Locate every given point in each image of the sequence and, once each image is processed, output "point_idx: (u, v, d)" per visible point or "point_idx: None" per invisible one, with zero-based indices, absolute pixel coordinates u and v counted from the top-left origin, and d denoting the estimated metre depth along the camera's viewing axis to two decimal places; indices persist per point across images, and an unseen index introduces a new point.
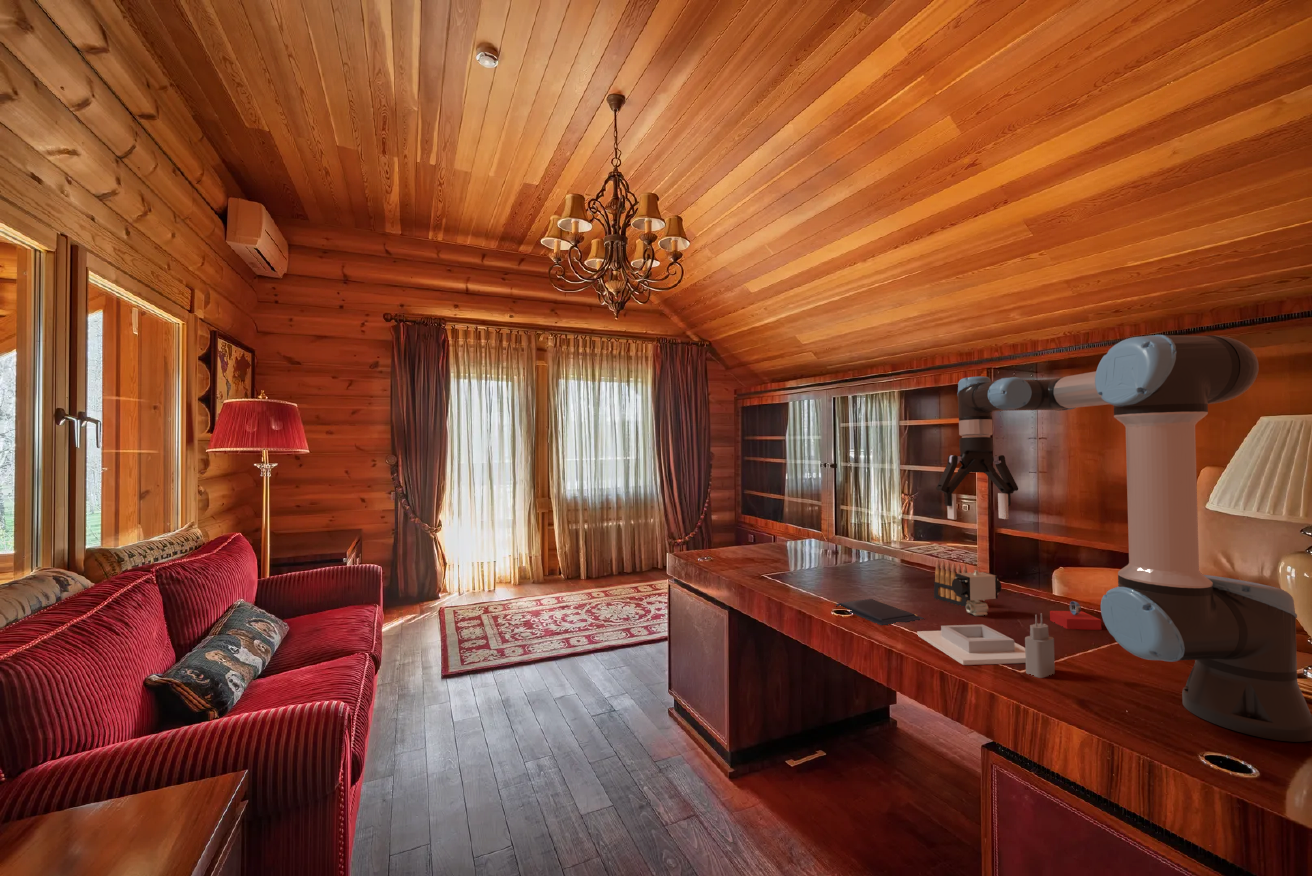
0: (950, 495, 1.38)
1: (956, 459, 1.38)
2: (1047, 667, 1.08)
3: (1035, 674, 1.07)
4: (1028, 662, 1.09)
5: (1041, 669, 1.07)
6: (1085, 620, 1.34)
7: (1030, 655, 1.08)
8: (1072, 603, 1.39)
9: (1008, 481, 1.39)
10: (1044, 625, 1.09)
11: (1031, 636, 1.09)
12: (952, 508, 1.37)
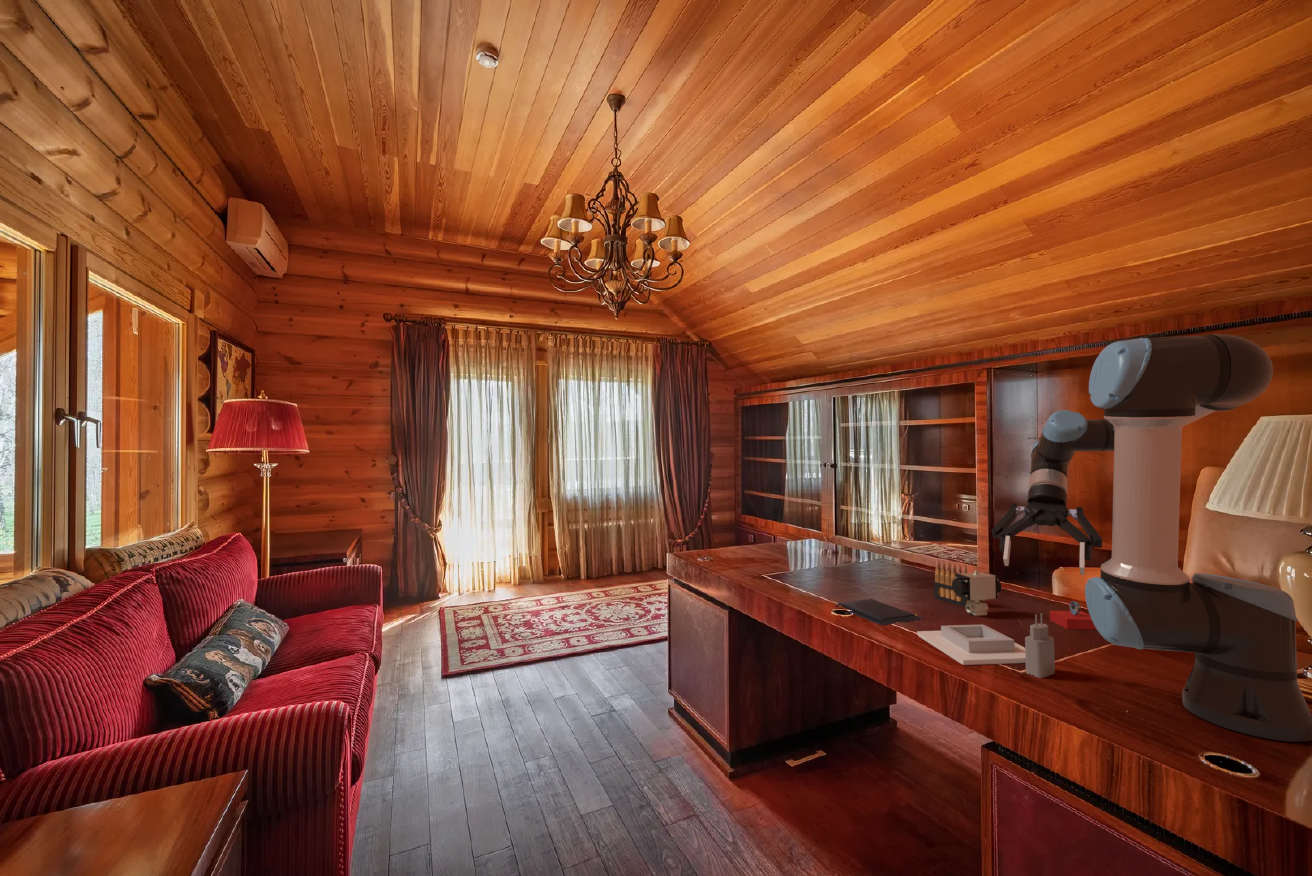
0: (1004, 538, 1.25)
1: (1015, 506, 1.29)
2: (1047, 667, 1.08)
3: (1035, 674, 1.07)
4: (1028, 662, 1.09)
5: (1041, 669, 1.07)
6: (1085, 620, 1.34)
7: (1030, 655, 1.08)
8: (1072, 603, 1.39)
9: (1089, 533, 1.17)
10: (1044, 625, 1.09)
11: (1031, 636, 1.09)
12: None
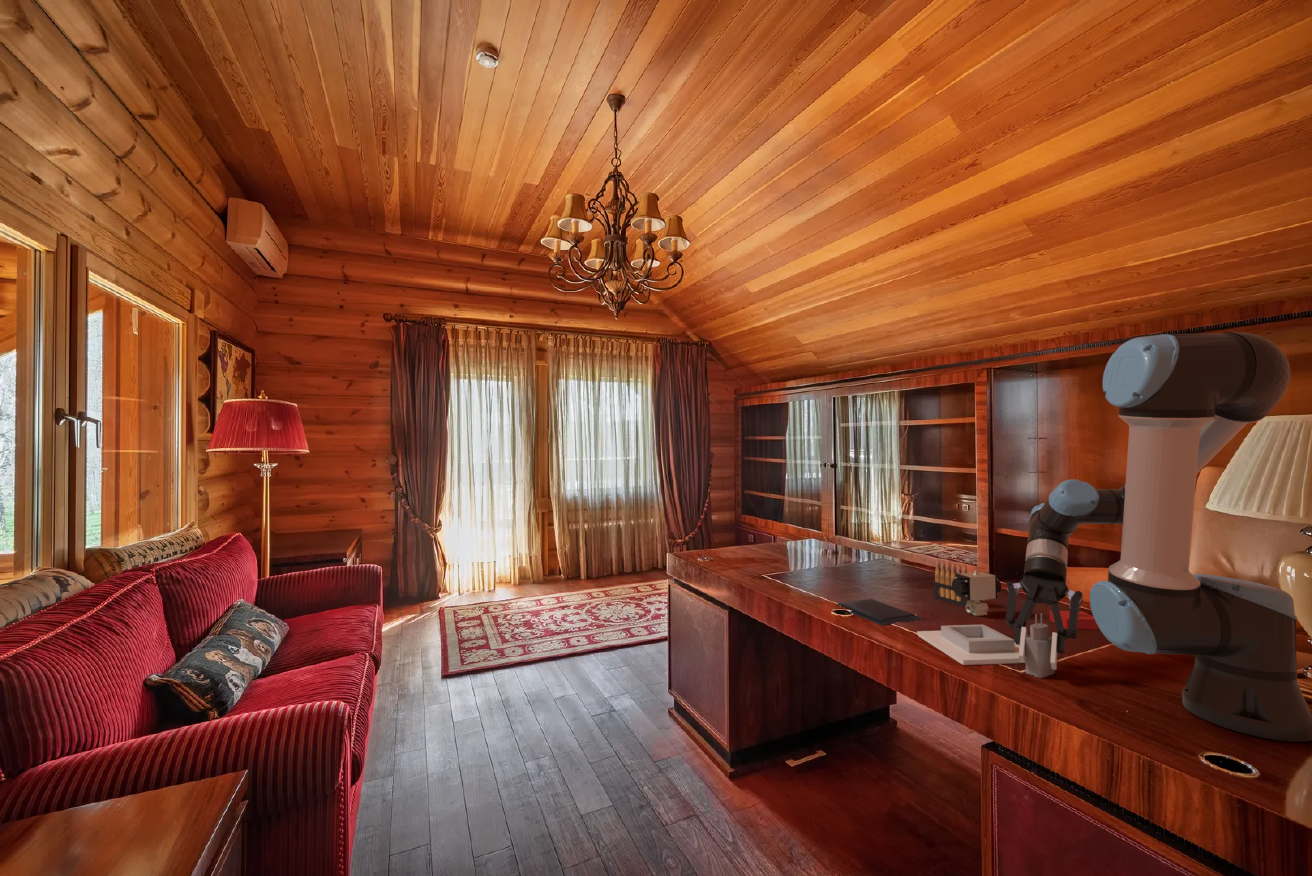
0: (1019, 629, 1.11)
1: (1011, 585, 1.18)
2: (1047, 667, 1.08)
3: (1035, 674, 1.07)
4: (1028, 662, 1.09)
5: (1041, 669, 1.07)
6: (1085, 620, 1.34)
7: (1030, 655, 1.08)
8: None
9: (1069, 620, 1.08)
10: (1044, 625, 1.09)
11: (1031, 636, 1.09)
12: (1020, 644, 1.09)
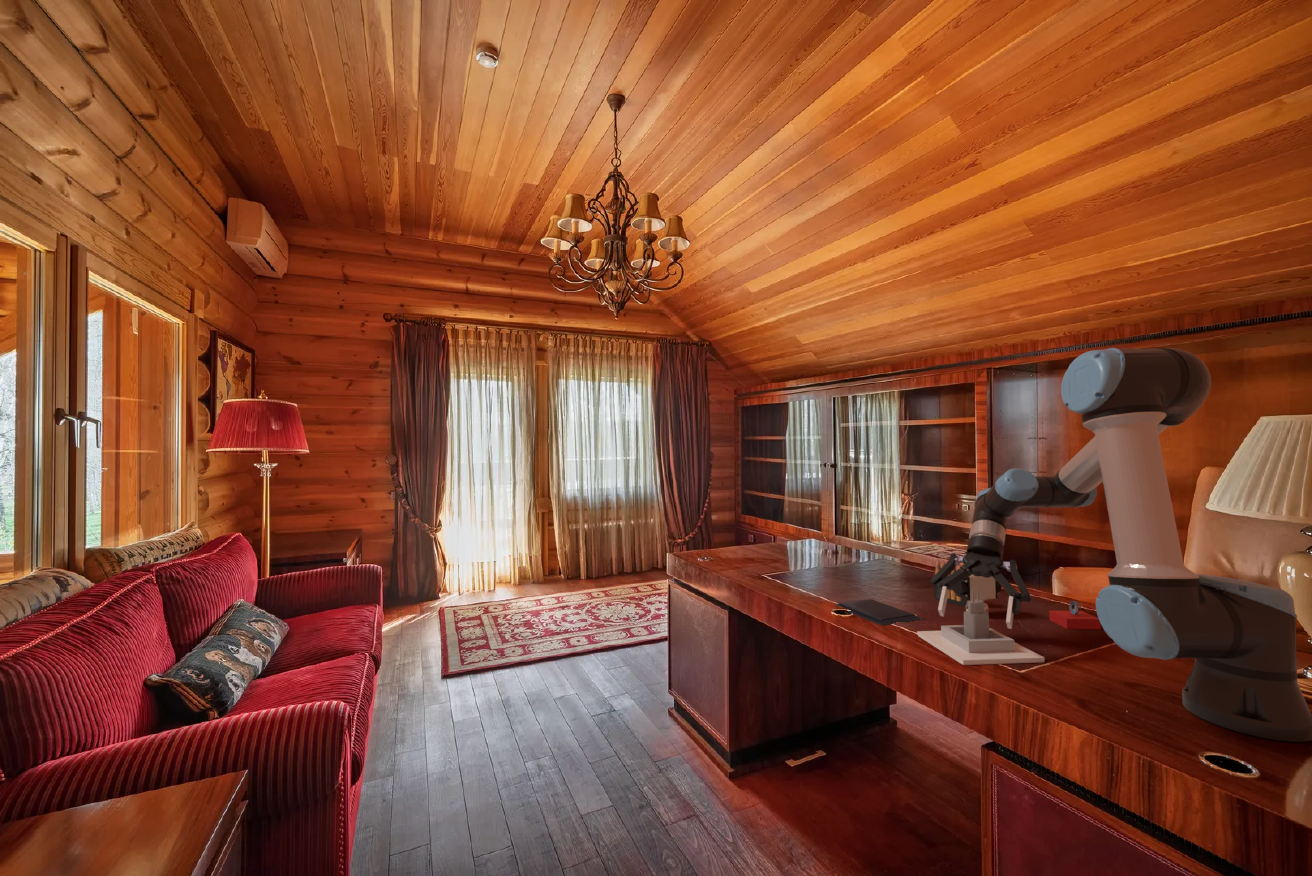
0: (941, 588, 1.29)
1: (954, 556, 1.33)
2: (982, 638, 1.21)
3: None
4: (966, 634, 1.22)
5: None
6: (1085, 620, 1.35)
7: (967, 627, 1.22)
8: (1072, 602, 1.39)
9: (1019, 587, 1.21)
10: (980, 601, 1.23)
11: (969, 611, 1.23)
12: None
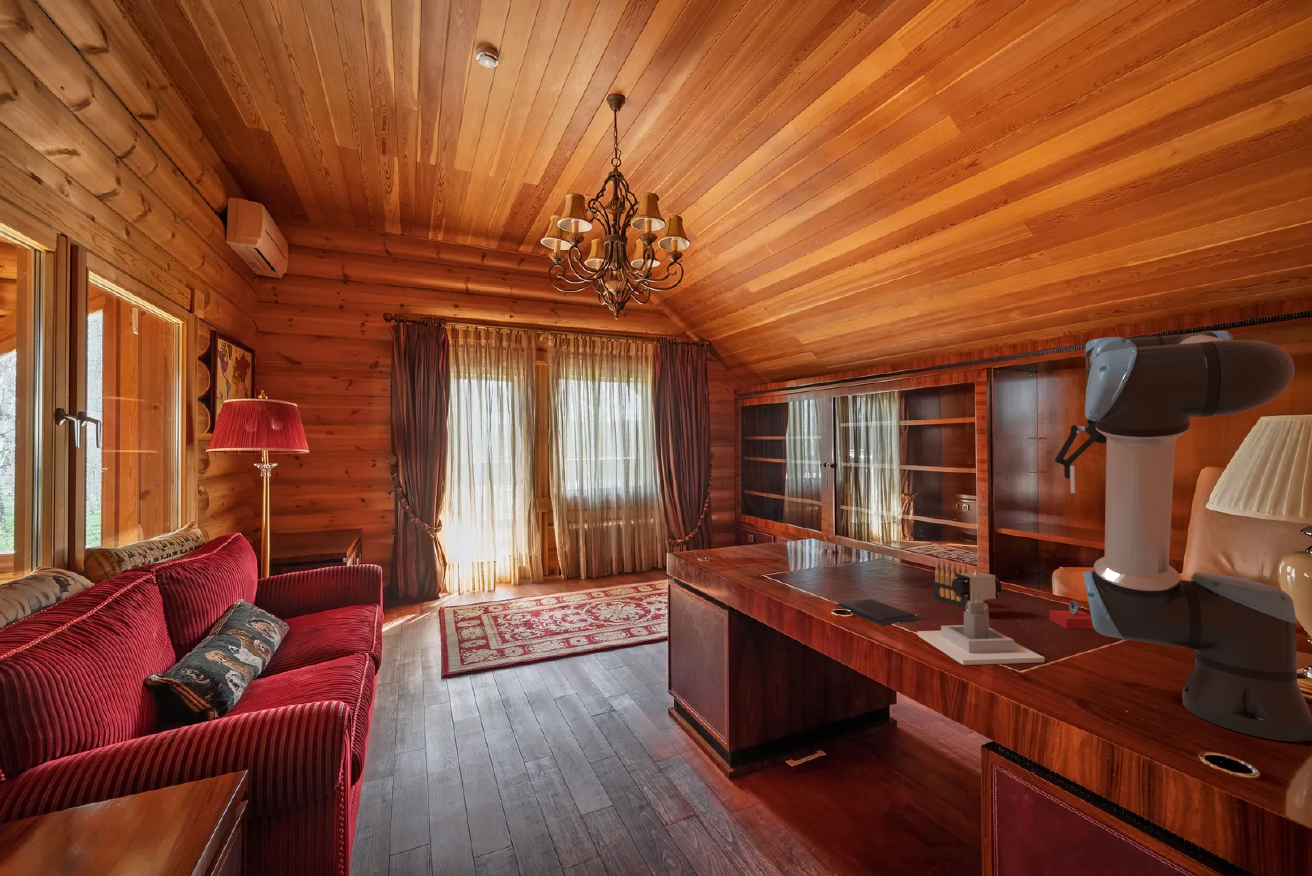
0: (1068, 467, 1.31)
1: (1075, 429, 1.30)
2: (982, 638, 1.21)
3: None
4: (966, 634, 1.22)
5: None
6: (1085, 619, 1.35)
7: (967, 627, 1.22)
8: (1072, 602, 1.39)
9: None
10: (980, 601, 1.23)
11: (969, 611, 1.23)
12: None
